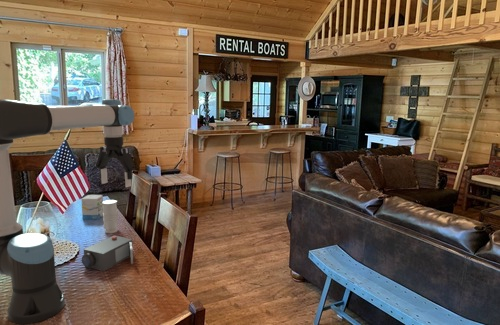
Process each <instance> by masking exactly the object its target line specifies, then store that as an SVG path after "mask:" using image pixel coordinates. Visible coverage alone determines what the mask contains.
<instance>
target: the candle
mask: <svg viewBox="0 0 500 325" xmlns="http://www.w3.org/2000/svg"><path fill="white" fill-rule="evenodd" d="M117 203H118V200H115V199H106V200H103V202H102V204H103V216H102V219H103V220H102V221H103V229H104V230H105V231H104V232H105V233H106V234H113V233H117V232H118V229H117V228H119V211H118V209H117V208H118V206H117V205H118V204H117Z"/></svg>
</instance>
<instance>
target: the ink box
mask: <svg viewBox="0 0 500 325" xmlns="http://www.w3.org/2000/svg"><path fill="white" fill-rule="evenodd" d="M80 200H81V213H82V215H81V216H82V220H99V219H100V218H103V204H102V202H103V201H104V196H103V194H87V195H85V196H84V197H82V198H81V199H80Z"/></svg>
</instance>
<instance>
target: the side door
mask: <svg viewBox="0 0 500 325" xmlns="http://www.w3.org/2000/svg"><path fill="white" fill-rule="evenodd" d="M132 241H133V240H132ZM132 241H130V242H129V255H130V257H129V260H130V264H131V265H133V264H134V248H133V249H132Z"/></svg>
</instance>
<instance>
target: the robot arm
mask: <svg viewBox="0 0 500 325" xmlns="http://www.w3.org/2000/svg"><path fill="white" fill-rule="evenodd" d="M134 120H135V111H134V109H133V108H132V107H131V106H130V105H125V104H122V102H121V100H120V99H115V98H114V99H113V98H112V99H109V98H107V99H102V100H101V104H97V103H96V104H94V103H93V104H88V103H86V104H81V105H47V104H45V103H44V102H28V101H22V100H13V99H7V98H6V99H0V273H1V274H3V275H7V276H9V277H10V278H11V286H12V287H11V288H12V289H11V290H12V293H11V297H10V301H9V306H8V308H7V315H8V321H10V322H11V323H13V324H18V325H28V324H35V323H39V322H42V321H45V320H48V319H50V318H52V317H53V316H55V315H57V314H59V312H61V311H62V309H63V308H64V307H65V297H64V293H63V292H62V290H61V288H60V286H59V284H58V283H57V275H56V263H55V262H56V261H55V247H54V244H53V240H52V239H51V237H49V236H48V235H46V234H43V233H40V232H34V233H33V232H30V233H29V232H28V233H24V230H23V225H22V224H21V223H20V222H17V216H16V208H15V199H14V190H13V189H14V188H13V180H12V169H11V161H10V153H9V149H10V147H11V146H12V145H13V144H14V140H19V139H23V138H29V137H35V136H36V137H37V136H42V135H43V136H44V135H48V134H50V132H52V131H62V130H73V129H83V128H84V129H85V128H95V127H96V128H97V127H103V136H104V141H103V144H104V145H103V146H100V147H99V153H98V157H97V159H96V160H97V161H96V163H95V167H96V168H98V169H99V173H100V174H99V176H100V178H101V185H104V184H108V182H109V181H108V170H107V169H108V168H107V165H108V164H109V162H110V161H111V159H112V158H113V159H116V160H118V161H119V162H120V165H121V166H122V167H123V169H124V170H125V171H124V180H125V181H124V182H125V185H124V187H125V188H129V187H132V179H133V172H134V171H137V170H136V166H135V163H134V162H133V159H132V156H131V154H130V150H129V148H128V147H126V148H123V146H124V137H123V135H124V131H123V126H129V125H131V124H132V123H133V122H134Z"/></svg>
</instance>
